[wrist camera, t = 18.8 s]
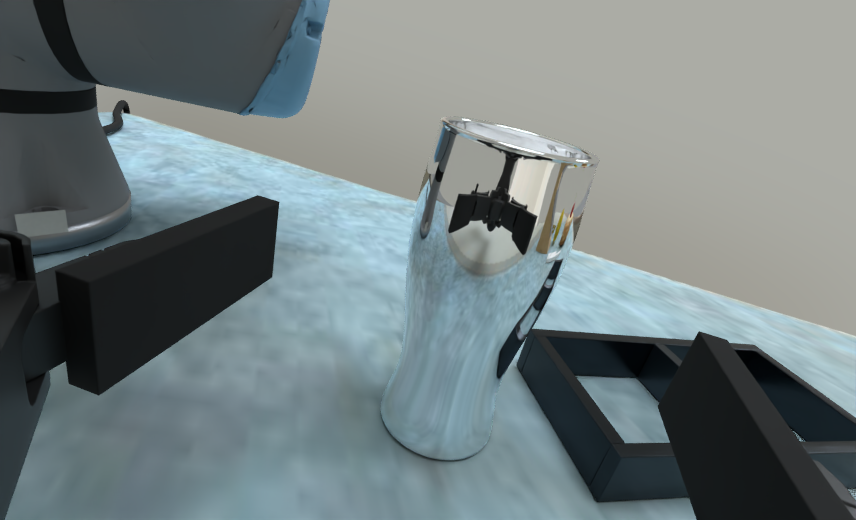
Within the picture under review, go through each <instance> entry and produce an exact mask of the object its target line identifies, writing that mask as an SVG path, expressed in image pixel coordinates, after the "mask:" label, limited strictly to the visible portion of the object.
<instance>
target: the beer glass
mask: <svg viewBox="0 0 856 520" xmlns="http://www.w3.org/2000/svg"><path fill="white" fill-rule="evenodd" d="M599 161H600V160H599V158H598V157H597V156H596V155H594V154H592V153H591V152H589V151H586V150H584V149H582V148H579V147H577V146H574V145H571V144H569V143H566V142H563V141H560V140H557V139H553V138H550V137H547V136H544V135H540V134H537V133H533V132H529V131H525V130H522V129H518V128H514V127H510V126H505V125H502V124H497V123H492V122H488V121H483V120H477V119H471V118H464V117H455V116H446V117H443V118H441V122H440V127H439V130H438V134H437V137H436V141H435V144H434V147H433V150H432V153H431V156H430V159H429V162H428V165H427V169H426V172H425V175H424V179H423V182H422V185H421V189H420V193H419V197H418V201H417V205H416V209H415V212H414V218H413V223H412V228H411V234H410V239H409V248H408V258H407V269H406V292H405V321H404V337H403V344H402V350H401V354H400V358H399V361H398V364H397V366H396V369H395V371H394V373H393V375H392V377H391V379H390V381H389V383H388V385H387V387H386V389H385V391H384V393H383V396H382V399H381V416H382V419H383V422H384V424H385V426H386V428H387V429H388V431H389V432H390V433H391V435H392V436H393V437H394V438H395V439H396V440H397V441H398V442H400V443H401V444H402V445H404V446H405V447H406V448H408V449H410V450H411V451H413V452H415V453H417V454H420V455H422V456H425V457H429V458H432V459H438V460H459V459H464V458H467V457H470V456H472V455H474V454H476V453H477V452H479V451H480V450H481V449H482V448H483V447H484V446H485V445H486V443H487V442H488V440H489V438H490V435H491V431H492V425H493V417H494V409H495V402H496V397H497V393H498V390H499V387H500V383H501V381H502V379H503V377H504V375H505V372H506V370H507V368H508V367H509V365H510V363H511V362H512V360H513V358H514V356H515V355H516V353H517V351H518V350H519V348H520V347H521V345H522V344H523V342H524V340H525V339H526V337H527V336H528V334H529V332H530V331H531V329H532V328H533V326H534V324H535V323H536V321H537V319H538V318H539V316H540V315H541V313H542V311H543V310H544V308H545V306H546V304H547V302H548V300H549V298H550V297H551V295H552V293H553V291H554V289H555V287H556V286H557V284H558V281H559V279H560V277H561V274H562V272H563V269H564V267H565V265H566V262H567V260H568V258H569V255H570V252H571V249H572V246H573V243H574V240H575V238H576V235H577V232H578V229H579V225H580V222H581V219H582V216H583V212H584V209H585V205H586V202H587V198H588V194H589V191H590V187H591V184H592V181H593V177H594V174H595V171H596V168H597V165H598V163H599Z"/></svg>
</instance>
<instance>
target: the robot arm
mask: <svg viewBox="0 0 856 520" xmlns="http://www.w3.org/2000/svg"><path fill="white" fill-rule="evenodd" d="M329 2H330V0H0V520H5V517H6V514H7V511H8V508H9V505H10V502H11V499H12V496H13V493H14V490H15V487H16V484H17V482H18V479H19V476H20V473H21V470H22V467H23V464H24V461H25V458H26V455H27V452H28V449H29V446H30V443H31V440H32V437H33V434H34V431H35V429H36V426H37V423H38V420H39V417H40V414H41V411H42V408H43V405H44V402H45V399H46V396H47V393H48V390H49V387H50V373H49V370H51V369H53V368H54V367H56V366H58V365H60V364H61V363H63V362H65V361H66V365H67V373H68V382H69V384H71V385H74V386H76V387H79V388H81V389H84V390H86V391H89V392H91V393H94V394H96V395H100V394H102V393H103V392H105V391H106V390H108V389H109V388H110V387H112V386H113V385H115V384H116V383H118V382H119V381H121V380H122V379H124V378H125V377H127V376H128V375H130V374H131V373H132V372H134V371H135V370H137V369H138V368H140V367H141V366H143V365H144V364H146V363H147V362H149V361H150V360H151V359H153V358H154V357H156V356H157V355H159V354H160V353H162V352H163V351H165V350H166V349H168V348H169V347H171V346H172V345H173V344H175V343H176V342H178V341H179V340H181V339H182V338H184V337H185V336H187V335H188V334H190V333H191V332H192V331H194V330H195V329H197V328H198V327H200V326H201V325H203V324H204V323H206V322H207V321H209V320H210V319H211V318H213V317H214V316H216V315H217V314H219V313H220V312H222V311H223V310H225V309H226V308H228V307H229V306H231V305H232V304H233V303H235V302H236V301H238V300H239V299H241V298H242V297H244V296H245V295H247V294H248V293H250V292H251V291H252V290H254V289H255V288H257V287H258V286H260V285H261V284H263V283H264V282H266V281H267V280H269V279H270V278H272V273H273V262H274V252H275V241H276V230H277V220H278V209H279V202H277V201H274V200H271V199H268V198H265V197H261V196H255V197H252V198H250V199H247V200H244V201H242V202H239V203H236V204H233V205H231V206H228V207H225V208H223V209H220V210H217V211H214V212H212V213H209V214H206V215H203V216H201V217H198V218H195V219H193V220H190V221H187V222H184V223H182V224H179V225H176V226H174V227H171V228H168V229H165V230H163V231H160V232H157V233H155V234H152V235H149V236H146V237H144V238H141V239H137V240H131V241H124V242H121V243H118V244H116V245H113V246H110V247H107V248H105V250H104V251H103V250H99V251H96V252H94V253H91V254H89V256H82V257H80V258H77V259H74V260H71V261H69V262H66V263H63V264H60V265H57V266H55V267H52V268H49V269H46V270H44V271H41V272H38V273H35V268H34V261H33V255H35V254H42V253H49V252H55V251H60V250H65V249H70V248H74V247H78V246H82V245H86V244H89V243H92V242H95V241H98V240H101V239H103V238H105V237H108V236H110V235H112V234H114V233H116V232H117V231H119V230H121V229H122V228H123V227H124V226H126V225H127V223H128V222H129V221H130V219H131V215H132V210H131V192H130V190H129V188H128V184H127V182H126V180H125V178H124V175H123V173H122V171H121V169H120V166H119V164H118V162H117V159H116V157H115V155H114V153H113V150H112V148H111V146H110V144H109V141H108V139H107V137H106V134H107V133H110V132H113V131H115V130H117V129H119V128H120V127H121V126H122V124H123V120H122V117H121V115H120V114H121V111H122V109H123V112H124V113H127V114H130V110H129V106H128V104H127V102H126V101H124V100H121V101H119V102H118V103H117V105H116V107H115V109H114V111H113V117H114V119H115V121H114V122H113V123H112V124H110V125H107V126H103V127H102V125H101V123H100V120H99V117H98V111H97V99H96V84H99V85H104V86H109V87H114V88H119V89H124V90H129V91H133V92H138V93H143V94H147V95H152V96H157V97H162V98H166V99H171V100H176V101H181V102H186V103H191V104H195V105H200V106H205V107H210V108H214V109H220V110H224V111H229V112H233V113H237V114H240V115H243V116H244V115H249V114H253V115H260V116H268V117H276V118H287V117H291V116H293V115H295V114H297V113H298V112H299V111H300V110H301V109H302V107H303V105H304V104H305V101H306V98H307V95H308V92H309V89H310V85H311V81H312V78H313V74H314V70H315V66H316V61H317V57H318V53H319V48H320V43H321V34H322V31H323V29H324V23H325V19H326V16H327V12H328V7H329ZM658 409H659V412H660V415H661V417H662V420H663V423H664V426H665V429H666V432H667V435H668V438H669V441H670V443H671V446H672V449H673V452H674V455H675V458H676V461H677V464H678V467H679V469H680V472H681V475H682V478H683V481H684V484H685V487H686V490H687V493H688V496H689V498H690V501H691V504H692V507H693V510H694V513H695V516H696V519H697V520H856V500H855V499H854V498H853V496H852V495H851V494H850V492H849V491H848V490H847V488H846V487H845V486H844V484H843V483H841V482H840V481H839V480H838V479H837V478H836V477H835V476H834V475H833V474H832V473H831V472H829V471H828V470H827V469H826V468H825V467H824V466H823V465H822V464H821V463H820V462H818V461H815V460H812V458H811V457H810V455H809V454H808V453H807V451H806V450H805V448H804V447H803V446H802V444H801V443H800V441H799V440H798V439H797V437H796V436H795V434H794V433H793V432H792V430H791V429H790V427H789V426H788V425H787V423H786V422H785V420H784V419H783V418H782V416H781V415H780V413H779V412H778V411H777V409H776V408H775V406H774V405H773V404H772V402H771V401H770V399H769V398H768V397H767V395H766V394H765V392H764V391H763V390H762V388H761V387H760V385H759V384H758V383H757V381H756V380H755V378H754V377H753V376H752V374H751V373H750V371H749V370H748V369H747V367H746V366H745V364H744V363H743V362H742V360H741V359H740V357H739V356H738V355H737V353H736V352H735V350H734V349H733V348H732V346H731V345H730V343H729V342H728V341H727V340H725V339H722V338H719V337H715V336H712V335H709V334H706V333H702V332H698V334H697V336H696V338H695V339H694V341H693V343H692V345H691V347H690V348H689V350H688V352H687V354H686V356H685V358H684V359H683V361H682V363H681V365H680V367H679V368H678V370H677V372H676V374H675V376H674V377H673V379H672V381H671V383H670V385H669V386H668V388H667V390H666V392H665V394H664V396H663V397H662V399H661V401H660V403H659V405H658Z"/></svg>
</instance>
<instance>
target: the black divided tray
mask: <svg viewBox="0 0 856 520" xmlns="http://www.w3.org/2000/svg"><path fill="white" fill-rule="evenodd" d="M693 341H694V340H681V339H667V338H653V337H639V336H625V335H612V334H598V333H584V332H570V331H556V330H543V329H531V331H530V332H529V334H528V336H527V338H526V341H525V343H524V346H523V349H522V351H521V354H520V357H519V359H518V362H517V367H518V369H519V371H520V372H521V374H522V375H523V377H524V379H525V380H526V382H527V384H528V386H529V387H530V389H531V391H532V392H533V394H534V396H535V397H536V399H537V401H538V402H539V404H540V406H541V407H542V409H543V411H544V413H545V414H546V416H547V418H548V419H549V421H550V423H551V424H552V426H553V428H554V429H555V431H556V433H557V434H558V436H559V438H560V439H561V441H562V443H563V445H564V446H565V448H566V450H567V451H568V453H569V455H570V456H571V458H572V460H573V461H574V463H575V465H576V466H577V468H578V470H579V471H580V473H581V475H582V477H583V478H584V480H585V482H586V483H587V485H588V486H589V489H590V490H591V492H592V494H593V496H594V497H595V499H596V501H597V502H604V501H622V500H641V499H660V498H678V497H689V496H688V493H687V490H686V487H685V484H684V481H683V478H682V475H681V472H680V469H679V467H678V464H677V461H676V458H675V455H674V452H673V449H672V446H671V443H624V441H623V440H622V438H621V437H620V436H619V434H618V433H617V432H616V430H615V429H614V428H613V426H612V425H611V424H610V422H609V421H608V420H607V418H606V417H605V416H604V414H603V413H602V412H601V410H600V409H599V407H598V406H597V405H596V403H595V402H594V401H593V399H592V398H591V397H590V395H589V394H588V393H587V391H586V390H585V389H584V387H583V386H582V385H581V383H580V382H579V381H578V379H577V378H576V377H575V375H588V376H613V377H637V378H638V379H639V380H640V381H641V382H642V383H643V384H644V385H645V387H646V388H647V389H648V390H649V391H650V392H651V393H652V394H653V395H654V396H655V397H656V399H657V400H658V401H659V402H660V401H661V399H662V397H663V396H664V394H665V392H666V390H667V388H668V386H669V385H670V383H671V381H672V379H673V377H674V376H675V374H676V372H677V370H678V368H679V367H680V365H681V363H682V361H683V359H684V358H685V356H686V354H687V352H688V350H689V348H690V347H691V345H692V343H693ZM730 345H731V346H732V348H733V349H734V350H735V352H736V353H737V355H738V356H739V357H740V359H741V360H742V362H743V363H744V364H745V366H746V367H747V369H748V370H749V371H750V373H751V374H752V376H753V377H754V378H755V380H756V381H757V383H758V384H759V385H760V387H761V388H762V390H763V391H764V392H765V394H766V395H767V397H768V398H769V399H770V401H771V402H772V404H773V405H774V406H775V408H776V409H777V411H778V412H779V413H780V415H781V416H782V418H783V419H784V420H785V422H786V423H787V425H788V426H790V427H791V428H792V429H793V430H794V431H796V432H797V433H798V434H799V435H800V436H802V437H803V438H804V439H805V440H806V441H808V442H800V443H801V444H802V446H803V447H804V448H805V450H806V451H807V453H808V454H809V455H810V457H811V458H812V460H815V461H818V462H820V463H821V464H822V465H823V466H824V467H825V468H826V469H827V470H828V471H829V472H831V473H832V474H833V475H834V476H835V477H836V478H837V479H838V480H839V481H840V482H841V483H843V484H844V486H845V487H846V488H856V418H855V417H854V416H852V415H851V414H850V413H848V412H847V411H846V410H844V409H843V408H841V407H840V406H839V405H837V404H836V403H834V402H833V401H832V400H830V399H829V398H827V397H826V396H825V395H823V394H822V393H820V392H819V391H818V390H816V389H815V388H814V387H812V386H811V385H809V384H808V383H807V382H805V381H804V380H802V379H801V378H800V377H798V376H797V375H795V374H794V373H793V372H791V371H790V370H788V369H787V368H786V367H784V366H783V365H782V364H780V363H779V362H777V361H776V360H775V359H773V358H772V357H770V356H769V355H768V354H766V353H765V352H763V351H762V350H761V349H759V348H758V347H757V346H755V345H750V344H736V343H730Z"/></svg>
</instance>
